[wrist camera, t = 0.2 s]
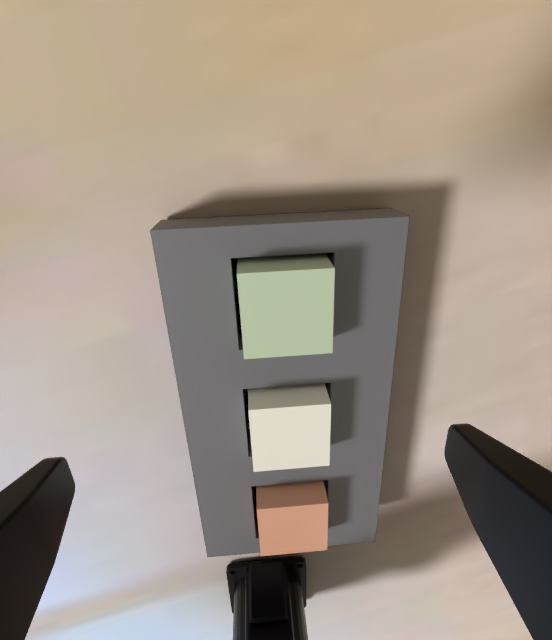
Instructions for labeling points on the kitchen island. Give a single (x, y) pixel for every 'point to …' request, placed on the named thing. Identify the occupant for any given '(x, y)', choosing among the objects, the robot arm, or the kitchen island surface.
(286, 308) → the sage button
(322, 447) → the cream button
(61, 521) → the robot arm
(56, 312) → the kitchen island surface
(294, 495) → the terracotta button
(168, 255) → the button panel
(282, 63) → the kitchen island surface
